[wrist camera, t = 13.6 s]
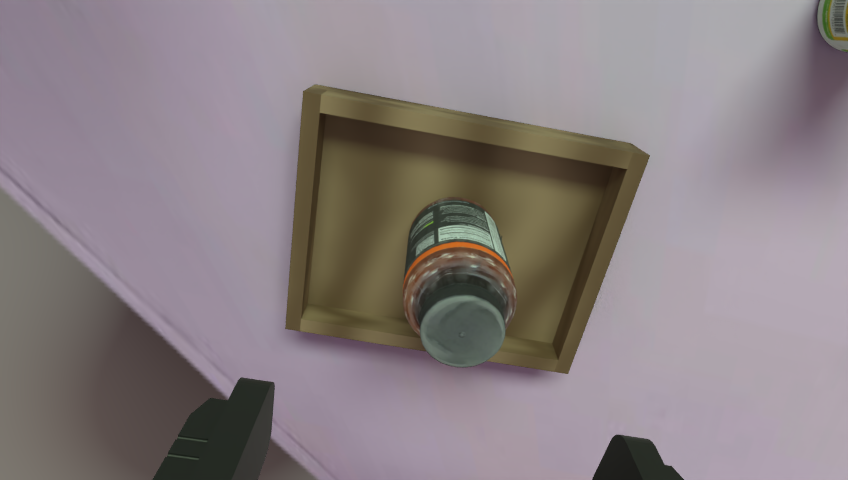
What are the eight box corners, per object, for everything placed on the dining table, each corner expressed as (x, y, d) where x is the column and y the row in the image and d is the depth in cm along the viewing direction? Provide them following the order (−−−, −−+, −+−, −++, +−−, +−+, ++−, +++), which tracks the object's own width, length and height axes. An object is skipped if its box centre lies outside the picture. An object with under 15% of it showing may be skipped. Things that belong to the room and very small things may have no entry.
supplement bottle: (476, 286, 35) (493, 402, 24) (396, 257, 34) (378, 364, 24) (513, 212, 32) (550, 305, 22) (428, 179, 32) (425, 260, 21)
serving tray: (296, 305, 37) (285, 328, 34) (315, 84, 30) (303, 91, 28) (558, 348, 38) (567, 374, 35) (631, 143, 31) (649, 155, 29)
